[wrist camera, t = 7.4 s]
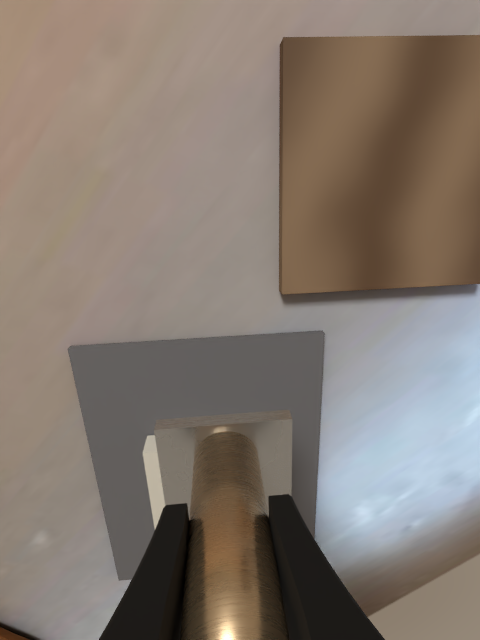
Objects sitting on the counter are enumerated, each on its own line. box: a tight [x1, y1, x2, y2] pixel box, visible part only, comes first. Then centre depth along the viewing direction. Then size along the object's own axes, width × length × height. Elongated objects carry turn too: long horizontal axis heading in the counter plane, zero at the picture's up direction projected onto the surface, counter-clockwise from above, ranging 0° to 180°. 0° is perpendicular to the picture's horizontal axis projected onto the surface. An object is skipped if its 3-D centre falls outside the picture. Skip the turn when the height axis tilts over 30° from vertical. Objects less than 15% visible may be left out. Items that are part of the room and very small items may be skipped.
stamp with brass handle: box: [154, 410, 292, 640], centre depth 10 cm, size 6×5×9 cm
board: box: [279, 35, 480, 294], centre depth 17 cm, size 11×11×1 cm
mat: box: [68, 331, 325, 580], centre depth 22 cm, size 14×18×1 cm
